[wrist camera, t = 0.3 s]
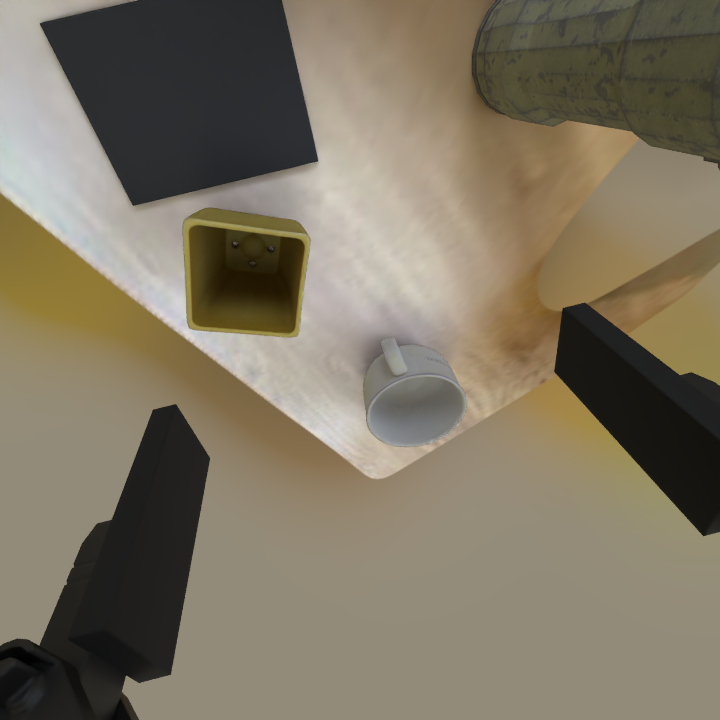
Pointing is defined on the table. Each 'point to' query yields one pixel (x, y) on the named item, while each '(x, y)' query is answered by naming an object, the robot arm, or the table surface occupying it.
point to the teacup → (411, 396)
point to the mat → (187, 91)
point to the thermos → (607, 67)
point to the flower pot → (244, 273)
